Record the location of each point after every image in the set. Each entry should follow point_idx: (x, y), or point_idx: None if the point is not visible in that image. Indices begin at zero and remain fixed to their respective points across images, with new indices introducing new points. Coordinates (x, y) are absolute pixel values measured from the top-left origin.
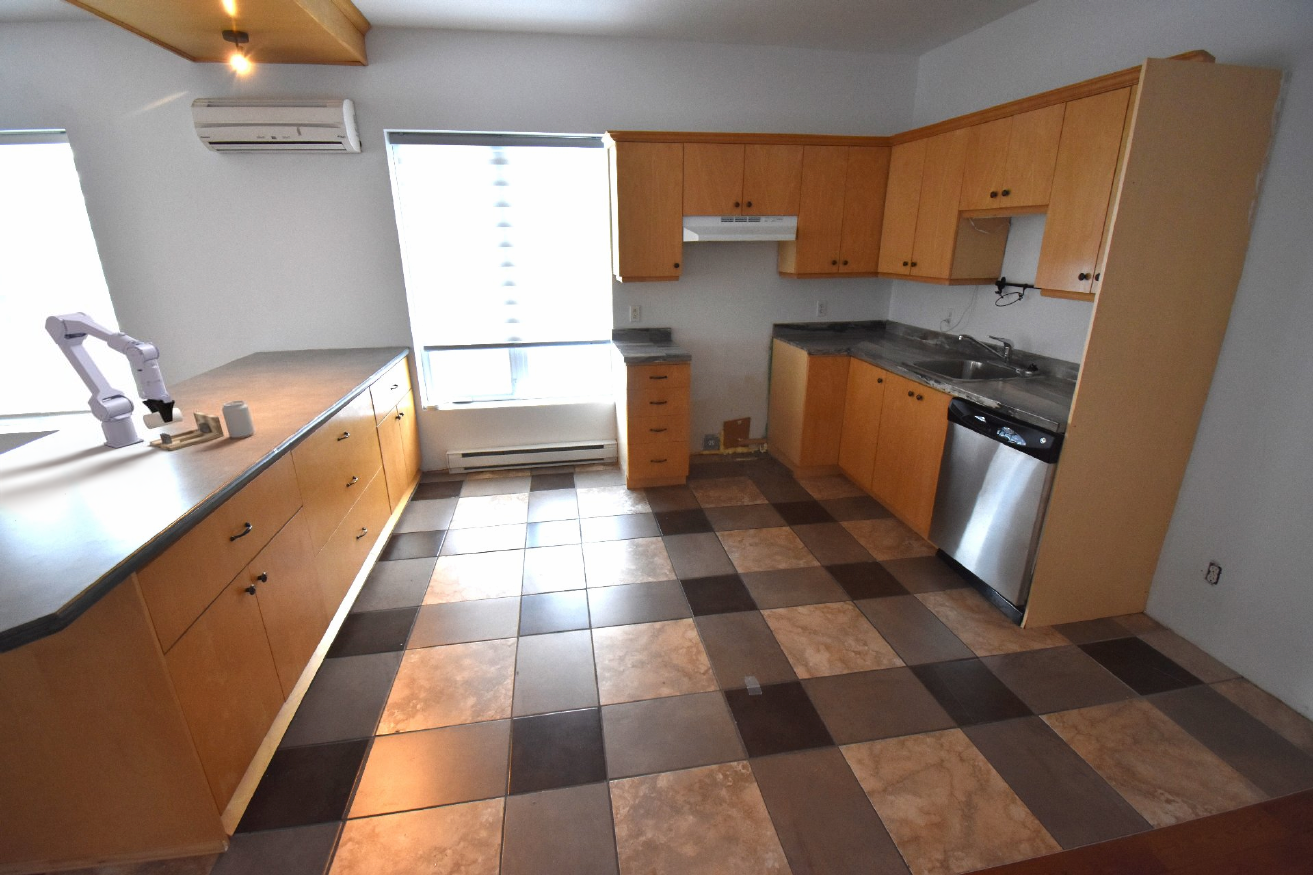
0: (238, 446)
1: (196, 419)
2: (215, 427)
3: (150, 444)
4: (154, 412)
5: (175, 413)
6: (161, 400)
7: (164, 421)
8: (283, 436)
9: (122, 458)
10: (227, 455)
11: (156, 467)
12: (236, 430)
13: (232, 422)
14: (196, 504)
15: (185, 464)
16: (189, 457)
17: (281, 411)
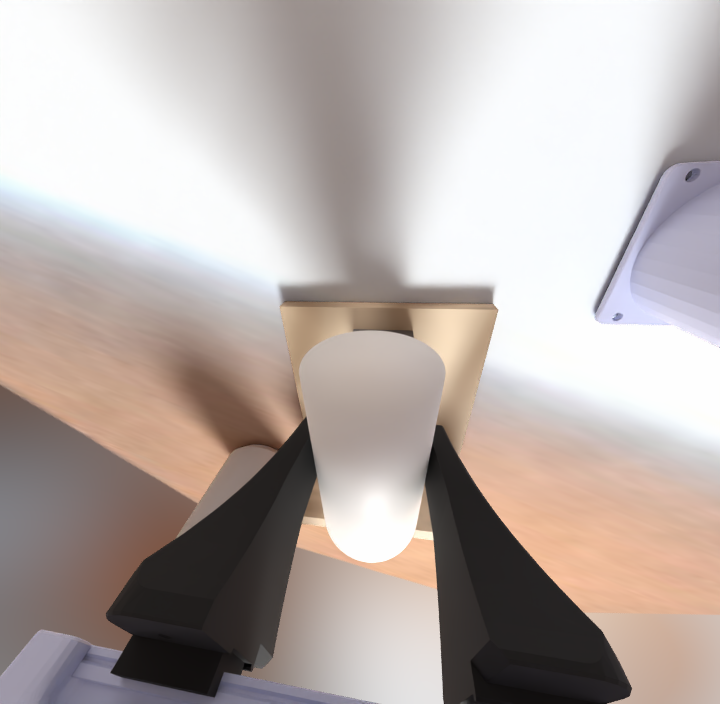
0: (157, 410)
1: None
2: None
3: (491, 304)
4: (440, 487)
5: (322, 506)
6: (157, 685)
7: (306, 420)
8: (172, 479)
9: (391, 86)
10: (74, 357)
11: (52, 139)
12: (221, 470)
13: (203, 499)
14: None
15: (34, 239)
16: (130, 291)
17: (401, 568)
